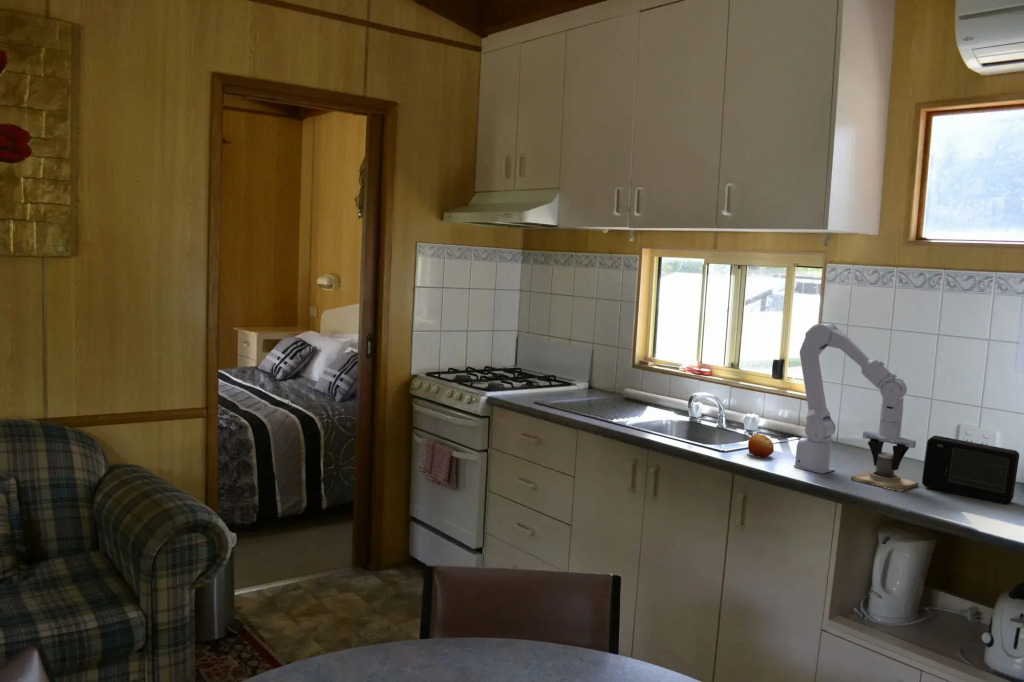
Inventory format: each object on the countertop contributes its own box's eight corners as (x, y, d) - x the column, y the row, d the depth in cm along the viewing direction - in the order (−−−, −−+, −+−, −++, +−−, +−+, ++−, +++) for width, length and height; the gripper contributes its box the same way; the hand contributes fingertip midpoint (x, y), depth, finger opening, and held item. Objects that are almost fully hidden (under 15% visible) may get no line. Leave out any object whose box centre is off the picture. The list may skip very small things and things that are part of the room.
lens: (872, 474, 244) (874, 454, 243) (881, 472, 247) (883, 451, 246) (888, 478, 240) (890, 457, 240) (897, 475, 243) (899, 455, 243)
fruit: (750, 446, 276) (763, 428, 273) (768, 463, 272) (781, 445, 268) (737, 449, 271) (750, 431, 267) (755, 466, 266) (769, 448, 263)
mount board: (850, 479, 245) (851, 471, 245) (870, 474, 253) (871, 466, 253) (898, 491, 235) (899, 483, 235) (918, 485, 243) (918, 477, 242)
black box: (1017, 500, 233) (1023, 447, 232) (1010, 507, 226) (1016, 451, 224) (929, 482, 248) (934, 432, 246) (919, 488, 240) (925, 436, 239)
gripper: (859, 417, 245) (855, 463, 246) (909, 427, 234) (904, 475, 236) (871, 415, 250) (866, 460, 251) (921, 424, 239) (916, 472, 240)
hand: (885, 467), depth 244 cm, fingers closed on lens, 5 cm apart
